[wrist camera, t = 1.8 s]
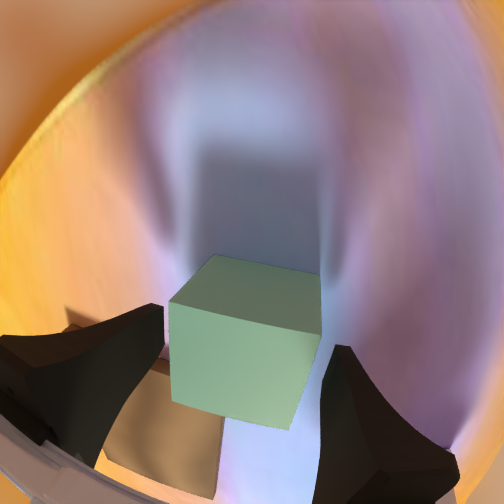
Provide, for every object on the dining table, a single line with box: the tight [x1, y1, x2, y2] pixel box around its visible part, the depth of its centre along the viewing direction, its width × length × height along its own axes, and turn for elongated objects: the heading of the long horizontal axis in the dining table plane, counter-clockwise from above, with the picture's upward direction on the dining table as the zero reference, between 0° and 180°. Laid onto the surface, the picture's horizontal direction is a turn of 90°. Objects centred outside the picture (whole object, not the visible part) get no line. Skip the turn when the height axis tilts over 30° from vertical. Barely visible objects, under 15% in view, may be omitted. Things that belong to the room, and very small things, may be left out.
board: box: [62, 324, 225, 500], centre depth 20 cm, size 12×18×1 cm, turn 173°
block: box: [169, 254, 322, 430], centre depth 12 cm, size 5×5×5 cm
